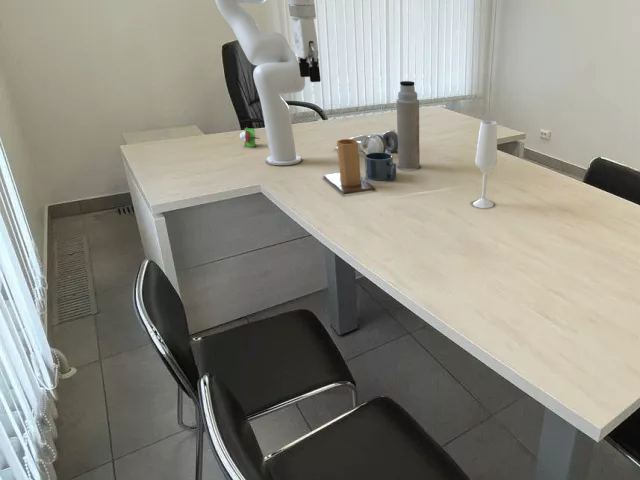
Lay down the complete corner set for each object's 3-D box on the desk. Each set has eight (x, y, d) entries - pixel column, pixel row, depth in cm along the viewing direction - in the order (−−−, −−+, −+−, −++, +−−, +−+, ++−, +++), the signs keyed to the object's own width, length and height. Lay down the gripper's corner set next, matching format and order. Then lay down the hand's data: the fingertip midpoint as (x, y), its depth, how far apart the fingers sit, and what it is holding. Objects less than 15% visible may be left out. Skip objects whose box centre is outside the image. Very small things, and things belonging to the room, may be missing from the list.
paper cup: (338, 181, 181) (334, 140, 172) (356, 178, 183) (353, 138, 175) (345, 187, 176) (341, 145, 168) (363, 184, 179) (360, 143, 171)
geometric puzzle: (247, 136, 219) (239, 122, 211) (263, 137, 218) (255, 123, 211) (244, 151, 217) (235, 137, 210) (260, 152, 217) (251, 138, 209)
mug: (360, 178, 188) (358, 155, 183) (380, 172, 194) (379, 150, 189) (386, 186, 181) (385, 163, 177) (405, 180, 187) (405, 158, 182)
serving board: (323, 178, 186) (323, 175, 186) (352, 174, 191) (352, 171, 190) (344, 196, 173) (343, 192, 172) (375, 191, 178) (374, 187, 177)
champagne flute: (478, 209, 167) (483, 125, 152) (469, 202, 172) (473, 120, 157) (497, 206, 170) (504, 124, 154) (487, 199, 174) (493, 119, 159)
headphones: (410, 148, 217) (371, 146, 228) (408, 128, 213) (368, 126, 224) (374, 160, 203) (334, 157, 214) (371, 138, 199) (330, 136, 210)
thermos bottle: (421, 165, 202) (421, 80, 184) (416, 171, 196) (415, 84, 178) (401, 163, 203) (399, 79, 186) (395, 169, 197) (393, 82, 179)
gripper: (281, 10, 160) (290, 75, 171) (299, 14, 149) (307, 84, 160) (305, 10, 163) (313, 74, 174) (324, 14, 152) (331, 83, 163)
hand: (310, 79), depth 167 cm, fingers open, 9 cm apart
